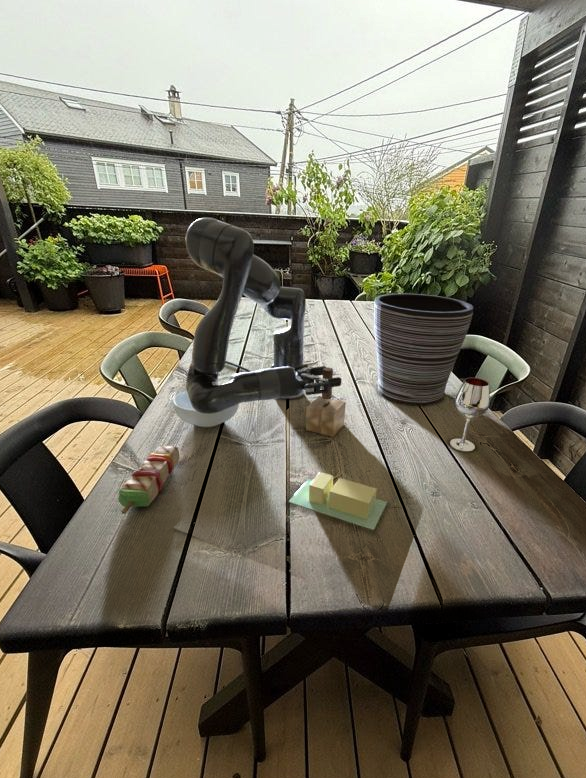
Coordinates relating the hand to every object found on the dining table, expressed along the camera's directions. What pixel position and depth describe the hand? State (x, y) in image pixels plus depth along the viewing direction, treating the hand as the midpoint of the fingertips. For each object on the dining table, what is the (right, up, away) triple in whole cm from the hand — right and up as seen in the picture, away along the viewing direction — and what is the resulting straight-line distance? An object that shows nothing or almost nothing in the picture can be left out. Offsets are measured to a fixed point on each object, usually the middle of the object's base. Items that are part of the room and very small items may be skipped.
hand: (333, 375), depth 104 cm
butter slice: (-2, -27, -22) cm, 35 cm away
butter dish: (+1, -29, -23) cm, 37 cm away
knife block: (-2, -14, +6) cm, 15 cm away
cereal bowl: (-34, -12, +6) cm, 37 cm away
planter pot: (+26, -3, +32) cm, 41 cm away
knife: (-2, -14, +6) cm, 15 cm away
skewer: (-38, -26, -22) cm, 51 cm away
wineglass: (+34, -19, +1) cm, 39 cm away
